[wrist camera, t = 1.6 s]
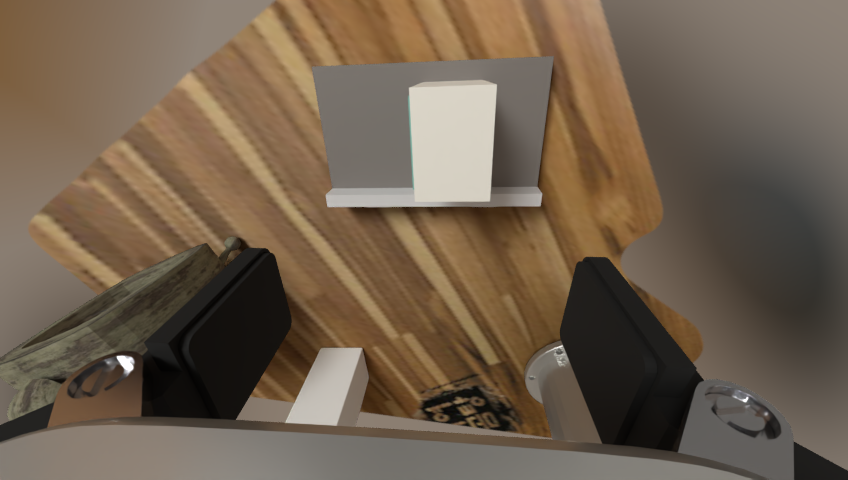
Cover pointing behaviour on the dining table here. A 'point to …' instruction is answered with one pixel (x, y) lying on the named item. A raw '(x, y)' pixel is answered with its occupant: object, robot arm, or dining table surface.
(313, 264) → the dining table surface
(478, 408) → the dining table surface
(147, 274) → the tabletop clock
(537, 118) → the shelf board
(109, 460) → the robot arm
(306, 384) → the milk
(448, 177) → the carton
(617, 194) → the dining table surface
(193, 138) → the dining table surface
